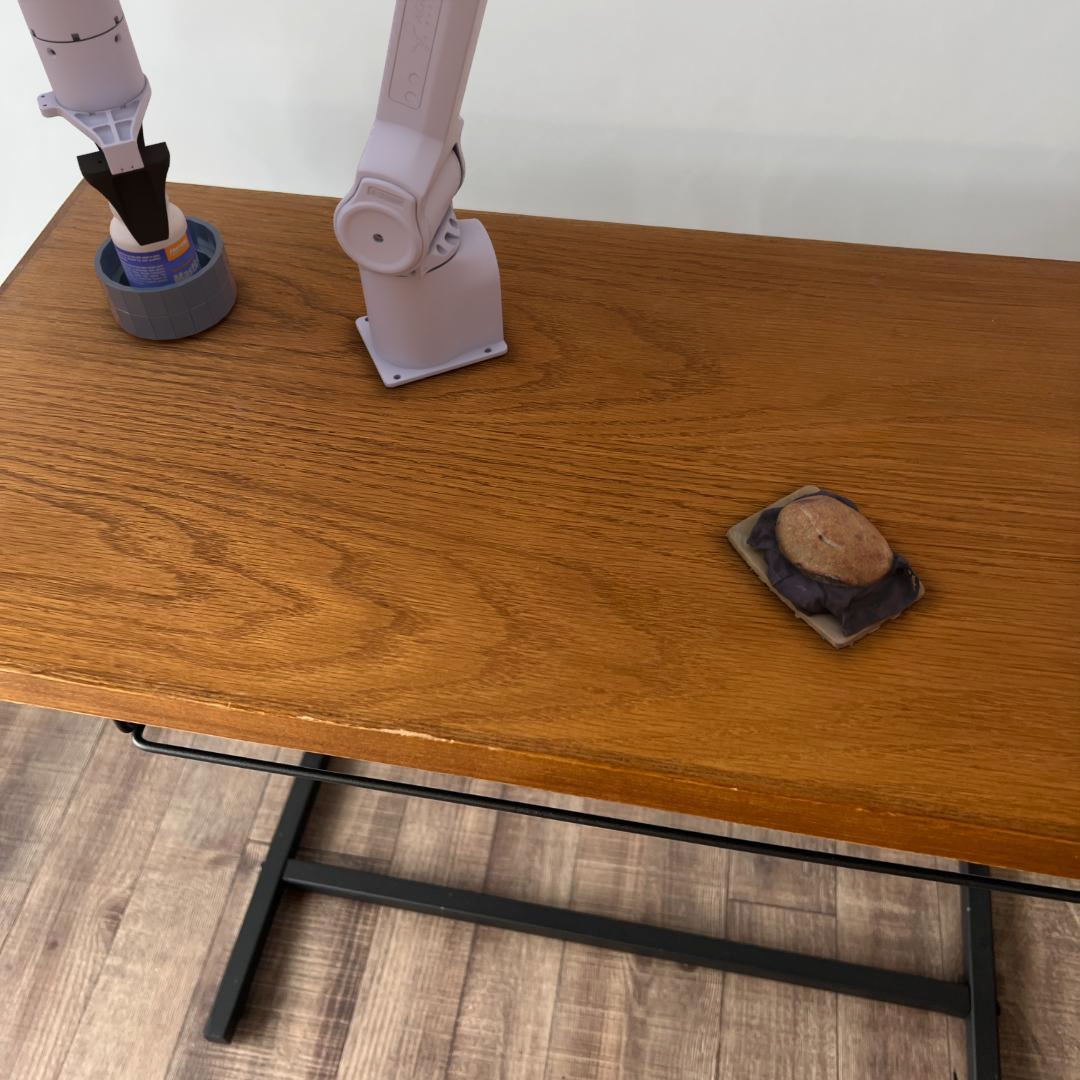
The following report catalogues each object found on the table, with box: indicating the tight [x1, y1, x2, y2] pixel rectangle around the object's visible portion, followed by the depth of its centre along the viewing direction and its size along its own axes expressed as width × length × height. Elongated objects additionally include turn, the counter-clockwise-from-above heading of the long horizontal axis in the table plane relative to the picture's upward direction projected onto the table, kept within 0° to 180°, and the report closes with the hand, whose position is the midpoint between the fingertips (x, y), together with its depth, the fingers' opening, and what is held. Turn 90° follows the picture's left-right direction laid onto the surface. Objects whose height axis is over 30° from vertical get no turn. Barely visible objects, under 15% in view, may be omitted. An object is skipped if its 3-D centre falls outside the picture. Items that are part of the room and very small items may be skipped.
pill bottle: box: [107, 189, 201, 288], centre depth 80 cm, size 5×5×10 cm
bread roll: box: [725, 484, 926, 650], centre depth 66 cm, size 11×8×4 cm
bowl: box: [92, 214, 238, 341], centre depth 82 cm, size 9×9×5 cm
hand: (144, 210), depth 78 cm, fingers open, 7 cm apart
